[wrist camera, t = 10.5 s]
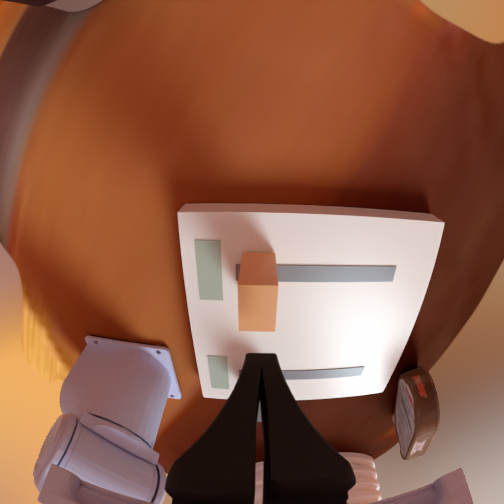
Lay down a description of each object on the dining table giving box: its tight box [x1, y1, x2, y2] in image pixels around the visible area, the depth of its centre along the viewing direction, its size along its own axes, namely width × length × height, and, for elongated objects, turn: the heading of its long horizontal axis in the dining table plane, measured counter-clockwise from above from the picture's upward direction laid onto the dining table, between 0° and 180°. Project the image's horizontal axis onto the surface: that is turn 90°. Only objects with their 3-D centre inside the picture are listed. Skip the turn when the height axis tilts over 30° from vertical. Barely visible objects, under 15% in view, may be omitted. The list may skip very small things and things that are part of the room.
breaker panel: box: [177, 203, 445, 400], centre depth 21 cm, size 18×18×2 cm
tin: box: [394, 366, 440, 460], centre depth 23 cm, size 15×3×8 cm, turn 18°
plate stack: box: [254, 452, 382, 504], centre depth 34 cm, size 28×28×12 cm
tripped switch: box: [238, 252, 278, 332], centre depth 16 cm, size 2×3×4 cm, turn 0°
